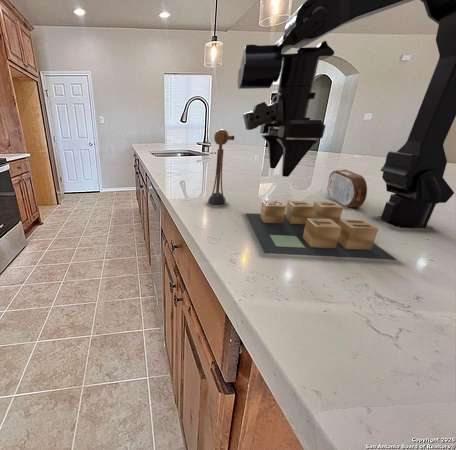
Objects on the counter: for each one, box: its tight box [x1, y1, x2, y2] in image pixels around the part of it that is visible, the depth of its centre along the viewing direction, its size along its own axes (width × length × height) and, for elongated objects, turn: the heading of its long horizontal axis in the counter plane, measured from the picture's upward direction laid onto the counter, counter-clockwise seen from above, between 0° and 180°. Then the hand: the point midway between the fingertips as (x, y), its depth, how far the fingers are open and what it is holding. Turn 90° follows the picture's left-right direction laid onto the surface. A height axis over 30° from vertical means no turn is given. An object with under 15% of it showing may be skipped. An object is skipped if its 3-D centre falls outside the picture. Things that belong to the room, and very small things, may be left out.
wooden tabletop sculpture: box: [207, 128, 235, 206], centre depth 65 cm, size 6×5×20 cm
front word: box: [303, 218, 379, 250], centre depth 43 cm, size 10×4×4 cm, turn 80°
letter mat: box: [245, 212, 398, 261], centre depth 49 cm, size 20×20×1 cm
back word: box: [285, 200, 344, 224], centre depth 53 cm, size 10×4×4 cm, turn 80°
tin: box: [327, 169, 368, 208], centre depth 65 cm, size 15×3×8 cm, turn 168°
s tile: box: [259, 200, 287, 223], centre depth 55 cm, size 4×4×4 cm
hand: (278, 172), depth 51 cm, fingers open, 9 cm apart
